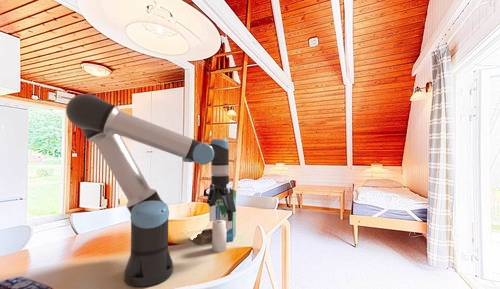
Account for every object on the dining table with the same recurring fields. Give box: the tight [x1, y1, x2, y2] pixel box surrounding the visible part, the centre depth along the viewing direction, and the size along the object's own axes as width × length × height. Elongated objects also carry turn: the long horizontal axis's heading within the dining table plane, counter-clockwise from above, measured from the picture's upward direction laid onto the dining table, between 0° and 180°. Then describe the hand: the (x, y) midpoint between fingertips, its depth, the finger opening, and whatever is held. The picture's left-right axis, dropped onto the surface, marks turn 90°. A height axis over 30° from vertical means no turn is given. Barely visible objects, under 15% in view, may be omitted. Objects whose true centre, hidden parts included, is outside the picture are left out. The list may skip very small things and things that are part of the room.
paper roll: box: [211, 220, 227, 253], centre depth 104 cm, size 6×6×12 cm
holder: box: [191, 228, 212, 246], centre depth 117 cm, size 14×10×3 cm
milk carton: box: [214, 186, 237, 242], centre depth 119 cm, size 9×9×25 cm
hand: (220, 224), depth 104 cm, fingers open, 13 cm apart
